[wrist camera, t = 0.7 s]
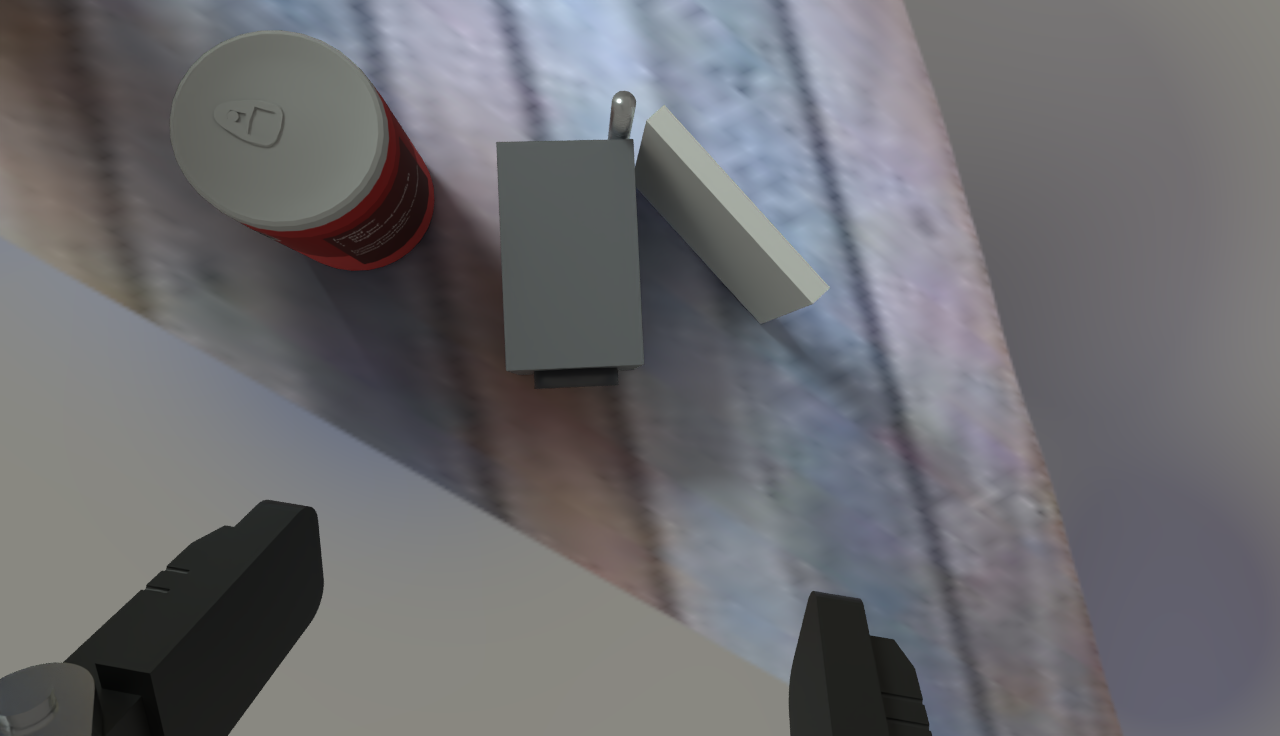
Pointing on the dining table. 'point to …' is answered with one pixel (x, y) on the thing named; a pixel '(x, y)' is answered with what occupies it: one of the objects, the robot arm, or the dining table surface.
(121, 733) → the robot arm
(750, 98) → the dining table surface
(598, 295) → the block
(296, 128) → the canned food
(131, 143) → the dining table surface
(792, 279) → the side door
